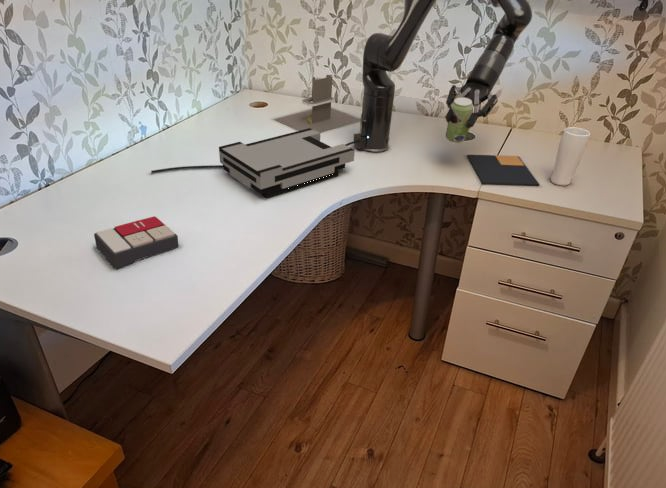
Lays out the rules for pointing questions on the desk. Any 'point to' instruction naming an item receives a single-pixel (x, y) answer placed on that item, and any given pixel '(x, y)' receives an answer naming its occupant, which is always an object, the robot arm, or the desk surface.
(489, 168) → the desk mat
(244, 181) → the game console
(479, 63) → the robot arm
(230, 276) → the desk surface
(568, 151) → the drinking glass
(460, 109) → the beverage can
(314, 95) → the architectural model
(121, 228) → the button panel
